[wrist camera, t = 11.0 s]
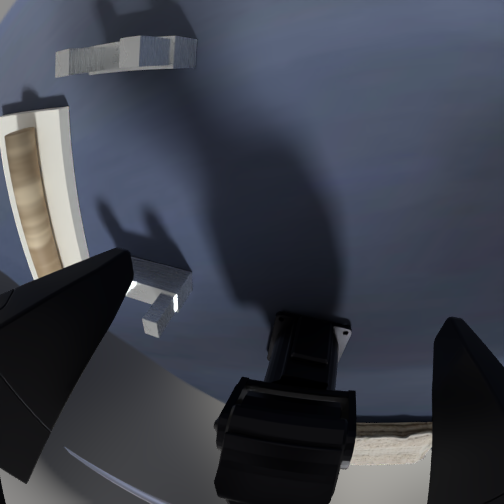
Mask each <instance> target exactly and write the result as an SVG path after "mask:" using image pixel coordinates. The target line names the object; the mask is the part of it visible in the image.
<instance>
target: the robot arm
mask: <svg viewBox="0 0 504 504" xmlns="http://www.w3.org/2000/svg"><path fill="white" fill-rule="evenodd" d="M133 279H134V270H133V265H132V259H131V254H130V252H129V251H128V250H126V249H122V248H114V249H111V250H109V251H106V252H103V253H101V254H98V255H95V256H93V257H90V258H88V259H85V260H83V261H80V262H78V263H75V264H72V265H70V266H67V267H65V268H62V269H60V270H58V271H55V272H53V273H50V274H48V275H45V276H43V277H40V278H38V279H36V280H33V281H31V282H29V283H26V284H24V285H22V286H19V287H17V288H15V289H12V290H10V291H8V292H5V293H3V294H1V295H0V468H1V469H3V470H4V471H6V472H7V473H9V474H11V475H12V476H14V477H15V478H17V479H19V480H20V481H22V482H24V483H25V484H27V482H28V481H29V479H30V476H31V474H32V472H33V469H34V467H35V465H36V463H37V461H38V458H39V456H40V454H41V452H42V450H43V448H44V446H45V444H46V441H47V440H48V438H49V435H50V433H51V432H50V431H52V429H53V427H54V425H55V423H56V421H57V419H58V417H59V415H60V413H61V411H62V409H63V407H64V406H65V404H66V402H67V400H68V398H69V396H70V394H71V393H72V391H73V389H74V387H75V385H76V383H77V382H78V380H79V378H80V376H81V374H82V373H83V371H84V369H85V367H86V366H87V364H88V362H89V360H90V359H91V357H92V355H93V353H94V352H95V350H96V348H97V347H98V345H99V343H100V342H101V340H102V338H103V337H104V335H105V333H106V332H107V330H108V329H109V327H110V325H111V323H112V322H113V320H114V318H115V316H116V314H117V312H118V310H119V308H120V306H121V304H122V302H123V300H124V297H125V295H126V293H127V292H128V290H129V288H130V286H131V284H132V282H133ZM280 317H283V318H280ZM351 330H352V329H351V327H350V326H347V325H342V324H337V323H332V322H328V321H323V320H318V319H313V318H309V317H304V316H300V315H295V314H291V313H286V312H278V313H277V314H276V318H275V323H274V327H273V332H272V337H271V342H270V347H269V351H268V356H267V359H268V360H269V361H270V362H269V365H268V369H267V372H266V376H265V379H264V381H258V380H252V379H249V378H247V377H241V379H240V381H239V383H238V384H237V385H236V386H235V388H234V390H233V392H232V394H231V395H230V397H229V399H228V401H227V403H226V405H225V406H224V408H223V410H222V412H221V414H220V416H219V417H218V419H217V420H216V421H215V423H214V429H215V430H216V432H217V439H216V444H217V449H218V450H220V451H221V456H220V461H219V466H218V470H217V473H216V477H215V480H214V484H215V488H216V491H217V495H218V496H219V497H220V498H224V499H226V501H227V503H228V504H329V503H330V501H331V497H332V496H333V494H334V491H335V487H336V483H337V479H338V475H339V471H340V469H347V468H348V467H349V464H350V462H351V459H352V455H353V451H354V446H355V439H356V392H355V391H351V390H348V391H337V390H335V386H336V375H337V364H338V361H339V359H340V357H341V355H342V353H343V351H344V349H345V347H346V344H347V342H348V340H349V338H350V336H351ZM344 331H347V332H344ZM431 456H432V457H431V471H430V483H429V493H428V502H427V504H504V367H503V366H502V364H501V363H500V362H499V361H498V360H497V358H496V357H495V356H494V355H493V354H492V352H491V351H490V350H489V349H488V348H487V346H486V345H485V344H484V343H483V342H482V341H481V339H480V338H479V337H478V336H477V335H476V334H475V333H474V331H473V330H472V329H471V328H470V327H469V326H468V325H467V324H466V323H465V321H464V320H463V319H461V318H456V317H449V318H447V320H446V321H445V323H444V324H443V326H442V328H441V329H440V331H439V333H438V334H437V336H436V338H435V341H434V355H433V381H432V455H431ZM0 504H6V503H5V499H4V494H3V489H2V485H1V479H0Z"/></svg>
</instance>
